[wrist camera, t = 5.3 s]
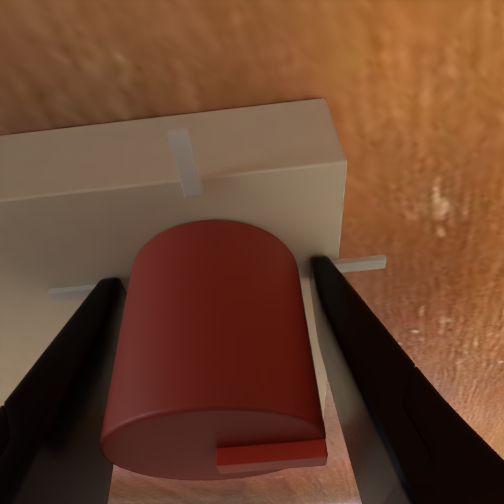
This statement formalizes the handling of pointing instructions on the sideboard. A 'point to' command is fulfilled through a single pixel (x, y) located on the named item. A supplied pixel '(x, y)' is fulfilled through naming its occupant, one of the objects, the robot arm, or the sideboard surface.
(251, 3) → the sideboard surface
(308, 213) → the hob
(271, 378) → the hob knob
